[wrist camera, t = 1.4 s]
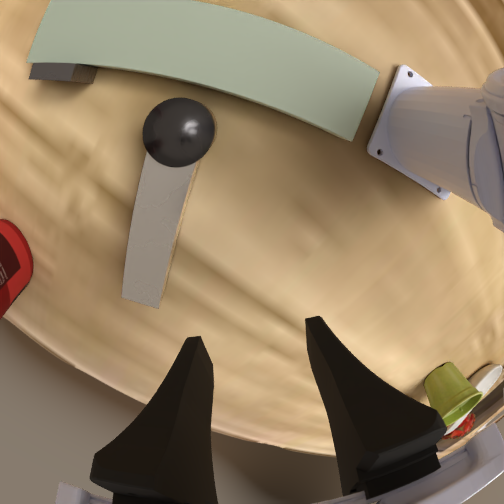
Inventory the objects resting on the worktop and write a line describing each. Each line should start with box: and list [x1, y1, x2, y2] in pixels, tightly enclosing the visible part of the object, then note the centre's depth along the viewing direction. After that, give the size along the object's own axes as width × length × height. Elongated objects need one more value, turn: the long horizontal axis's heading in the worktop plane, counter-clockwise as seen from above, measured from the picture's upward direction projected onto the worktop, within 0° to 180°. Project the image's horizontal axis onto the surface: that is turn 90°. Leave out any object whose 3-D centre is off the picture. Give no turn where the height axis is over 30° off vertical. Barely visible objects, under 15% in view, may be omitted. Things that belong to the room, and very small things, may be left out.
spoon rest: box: [444, 364, 502, 435], centre depth 38 cm, size 24×12×7 cm, turn 149°
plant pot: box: [424, 362, 483, 426], centre depth 30 cm, size 9×9×9 cm
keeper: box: [29, 63, 98, 84], centre depth 12 cm, size 4×1×3 cm, turn 70°
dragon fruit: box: [441, 411, 476, 440], centre depth 46 cm, size 8×8×12 cm
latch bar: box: [122, 98, 217, 309], centre depth 17 cm, size 14×4×3 cm, turn 160°
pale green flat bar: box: [26, 0, 380, 142], centre depth 13 cm, size 24×5×2 cm, turn 70°
